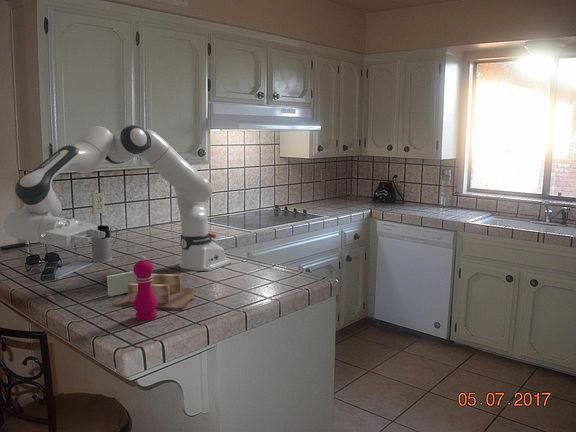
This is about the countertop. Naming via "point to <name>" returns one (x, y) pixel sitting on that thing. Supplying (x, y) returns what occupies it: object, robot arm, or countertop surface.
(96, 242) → the grey black mug
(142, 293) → the pepper mill
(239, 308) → the countertop surface
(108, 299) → the countertop surface
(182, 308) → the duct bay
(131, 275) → the gate
